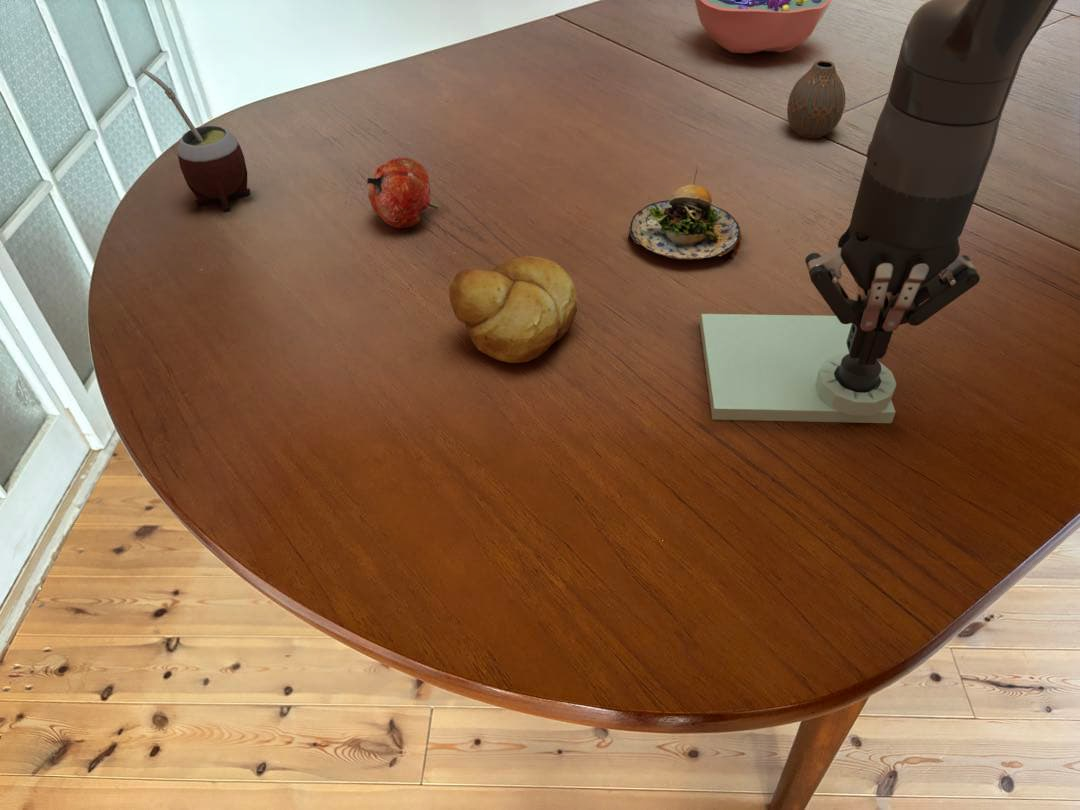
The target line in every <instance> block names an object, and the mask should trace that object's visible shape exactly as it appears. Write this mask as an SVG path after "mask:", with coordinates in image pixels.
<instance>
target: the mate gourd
mask: <svg viewBox="0 0 1080 810" xmlns="http://www.w3.org/2000/svg"><path fill="white" fill-rule="evenodd" d="M139 71H140V72H141V73H143V74H144V75H145V76H147V77H148V78H149V79H150V80H152V81H153V82H155V83H156V84H157V85H158V86H159V87H161V88H162V90H164V91H163V92H164V94H165V95H166V97H167V98H168V99H169V100H171V102H172V103H173V105H174V107H175V108H176V110H177V111H178V113H179V114H180V116H181V117H182V119H183V120H184V122H185V124H186V126H187V127H188V129H189V130H187V131H186V132H184V133H183V134H182V136H181V137H180V138H179V141H178V143H177V147H176V152H177V159H178V164H179V168H180V170H181V173H182V175H183V178H184V181H185V182H186V185H187V186H188V188H189V189H190V191H191V193H192V194H193V195H194V197H195V198H196V199H195V200H194V202H195V204H196V206H197V207H200V206H205V205H211V204H215V203H220V204H221V207H222V211H223V212H224V213H229V212H231V211H232V209H231V205H230V201H231V200H234V199H239V198H243V197H249V196H251V189H250V188H248V169H247V164H246V159H245V155H244V152H243V149H242V147H241V145H240V143H239V141H238V140H237V139H238V138H237V137H236V136H235V135H234V133H232V132H231V131H229V130H228V129H226V128H225V127H223V126H219V125H216V124H215V125H202V126H196V127H195V126H194V124H193V122H192V120H191V119H190V118H189V116H188V114H187V112H186V111H185V109H184V108H183V105H181V103H180V102H179V100H178V98H177V97H176V93H175V92H174V90H173V89H172V88H171V87H169V86H168V84H166V83H165V82H164V81H163V80H162V79H161V78H159V77H158V76H156V75H155V74H153V73H152V72H151V71H149V70H147V69H146V68H144V67H142V66H141V67H140V68H139Z"/></svg>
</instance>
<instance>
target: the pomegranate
mask: <svg viewBox="0 0 1080 810" xmlns="http://www.w3.org/2000/svg"><path fill="white" fill-rule="evenodd" d="M368 185H369V187H368V199H369V202H370V205H371V207H372V209H373V211H374V212H375V213H376V214H377V215H379V216H380V217H381V219H382V220H383V222H385V223H386V224H388V225H389V226H391V227H394V228H396V229H405V228H410V227H412V226H414V225H416V224H418V223H419V222H420V221H421V212H423V211H425V210H427V209H428V207H430V208H434V209H436V210H438V209H439V206H437V205H434V204H431V196H430V195H431V183H430V180H429V174H428V171H427V170H426V168H425V167H424V166H423V165H422V164H421V163H420V162H419V161H417V160H415V159H412V158H409V157H396V158H393V159H389V160H388V161H387V162H386V163H385V164H382V165H379V166H378V167H376V170H375V171H374V177H367V178H366V186H368Z"/></svg>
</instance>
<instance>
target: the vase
mask: <svg viewBox="0 0 1080 810" xmlns="http://www.w3.org/2000/svg"><path fill="white" fill-rule="evenodd" d="M845 107H846V90H845V86H844V84H843V81H842V80H841V78H840V76H839V75H838V72H837V70H836V64H835V63H834V62H833V61H831V60H828V59H827V60H826V59H820V60H816V61H815V62H814V63H813V65H812V66H811V68H810V69H809V70H808V71H807V72H805V73H804V74H803V75H802V76H801V77H800V78H799V79H798V80H797V81H796V82H795V84H794V86H793V87H792V89H791V92H790V94H789V97H788V101H787V107H786V115H787V120H788V123H789V126H790V127H791V129H792V130H793V132H794V133H796V134H797V135H799V136H801V137H803V138H807V139H819V138H823V137H825V136H827V135H828V134H830V133H831V132H832V131H833V130H835V129H836V128H837V126H838V124H839V123H840V121H841V119H842V117H843V114H844V111H845Z"/></svg>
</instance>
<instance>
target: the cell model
mask: <svg viewBox="0 0 1080 810" xmlns="http://www.w3.org/2000/svg"><path fill="white" fill-rule="evenodd" d="M832 1H833V0H694V3H695V8H696V12H697V16H698V19H699V23H700V24H701V26H702V28H703V29H704V31H705V32H706V33H707V35H708V37H709V38H710V39H711V40H712V41H714V42H715V43H717V44H718V46H720V47H721V48H723V49H724V50H726V51H728V52H729V53H733V54H756V53H763V52H772V53H785V52H788V51H790V50H792V49H795V48H796V47H798V46H800V45H802V44H803V43H804V42H805V41H807V40H808V39H809V38H810V36H811V35H812V34H813V33H814V31H815V29H816V27H817V26H818V25H819V24H820V22H821V20H822V18H823V17H824V15H825V14H826V12H827V10H828V8H829V7H830V4H831V3H832Z"/></svg>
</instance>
